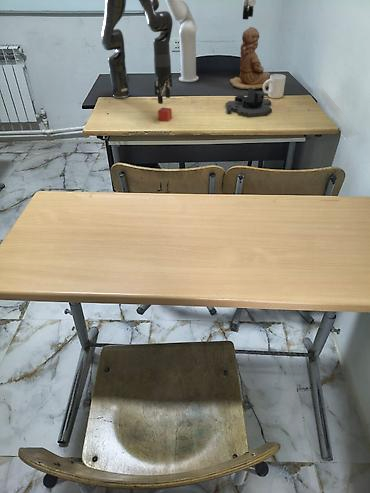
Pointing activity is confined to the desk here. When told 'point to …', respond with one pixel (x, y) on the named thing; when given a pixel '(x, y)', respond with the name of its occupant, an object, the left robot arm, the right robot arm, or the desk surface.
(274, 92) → the mug
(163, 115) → the brick
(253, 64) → the sculpture
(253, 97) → the abstract sculpture
